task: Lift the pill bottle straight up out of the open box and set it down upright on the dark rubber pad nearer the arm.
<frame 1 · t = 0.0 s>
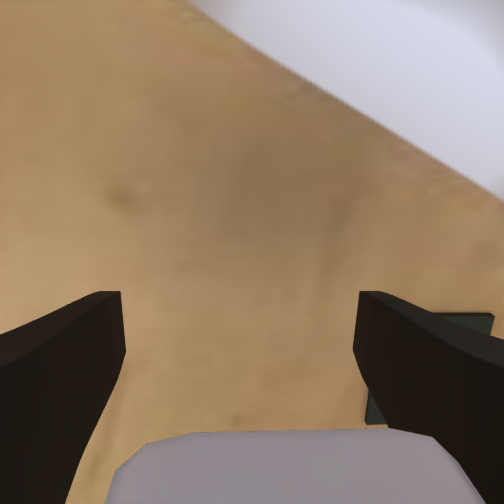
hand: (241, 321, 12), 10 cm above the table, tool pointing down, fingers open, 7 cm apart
pad: (425, 369, 25), on the table
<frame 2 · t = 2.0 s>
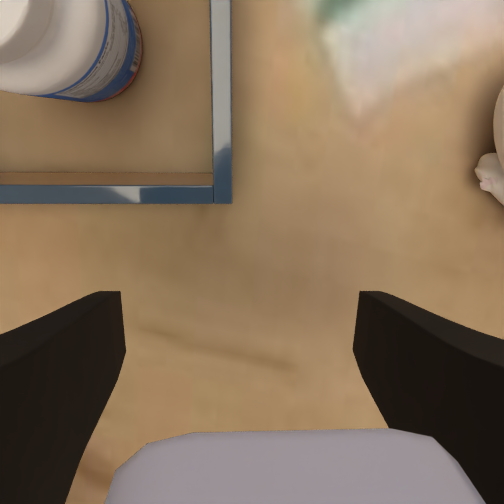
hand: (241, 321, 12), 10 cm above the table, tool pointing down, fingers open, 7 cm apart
open box: (87, 43, 18), on the table
pill bottle: (88, 44, 18), resting in open box
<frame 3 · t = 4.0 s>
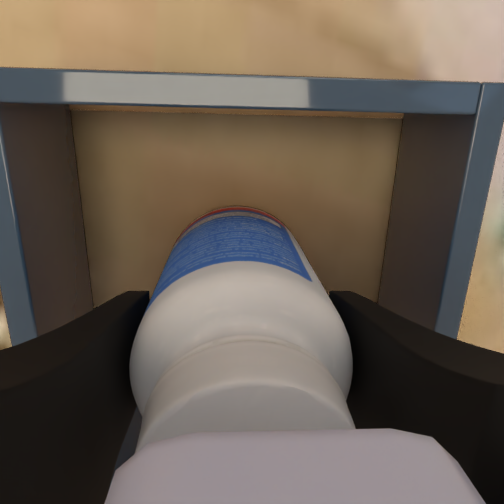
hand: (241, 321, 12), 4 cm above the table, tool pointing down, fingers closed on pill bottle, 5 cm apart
open box: (238, 269, 16), on the table
pill bottle: (237, 267, 16), resting in open box, touching gripper
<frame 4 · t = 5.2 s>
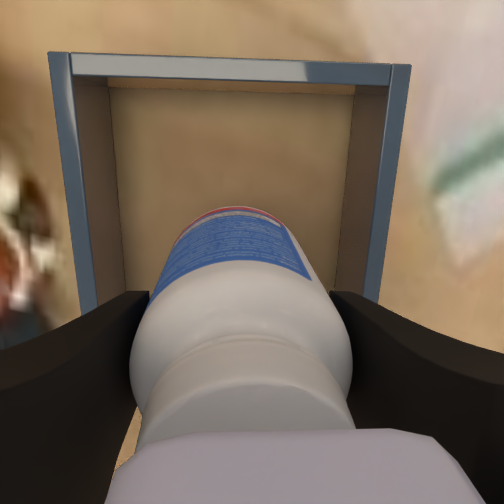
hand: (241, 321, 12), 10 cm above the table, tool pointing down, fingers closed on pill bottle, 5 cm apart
open box: (232, 211, 21), on the table
pill bottle: (237, 267, 16), point 5 cm above the table, touching gripper
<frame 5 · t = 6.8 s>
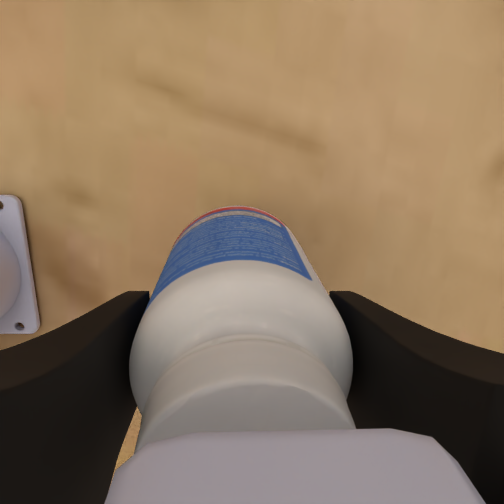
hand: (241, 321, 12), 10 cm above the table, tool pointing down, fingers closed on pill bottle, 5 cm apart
pill bottle: (237, 267, 16), point 6 cm above the table, touching gripper
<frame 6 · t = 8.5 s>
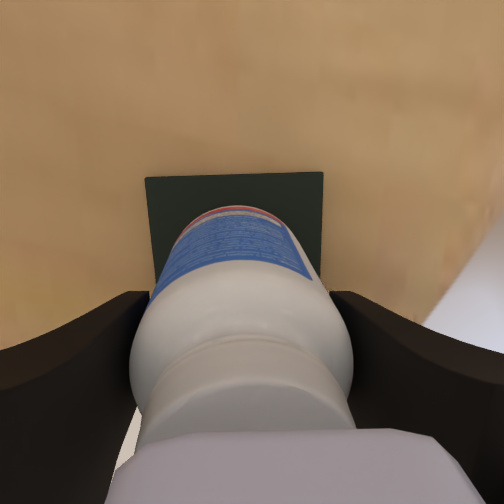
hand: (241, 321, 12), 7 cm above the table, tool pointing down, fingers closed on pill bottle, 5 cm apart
pad: (237, 247, 18), on the table
pill bottle: (237, 267, 16), point 3 cm above the table, touching gripper
when the fingers open (5 cm above the table, at t = 9.8 s): pill bottle stays where it is, resting on pad.
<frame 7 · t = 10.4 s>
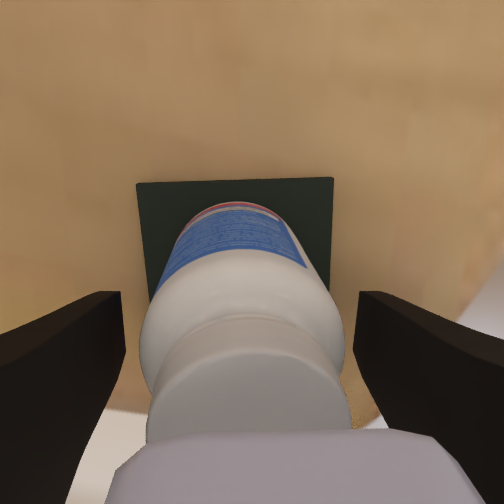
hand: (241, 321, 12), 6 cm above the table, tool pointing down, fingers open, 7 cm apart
pad: (238, 259, 17), on the table
pill bottle: (237, 260, 17), resting on pad
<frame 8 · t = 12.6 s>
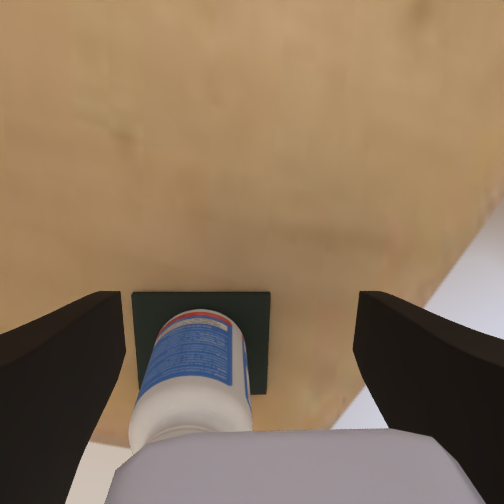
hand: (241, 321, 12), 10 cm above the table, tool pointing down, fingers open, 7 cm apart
pad: (203, 344, 23), on the table
pill bottle: (202, 345, 23), resting on pad
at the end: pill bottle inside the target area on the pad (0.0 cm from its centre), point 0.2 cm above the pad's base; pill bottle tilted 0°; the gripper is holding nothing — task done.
